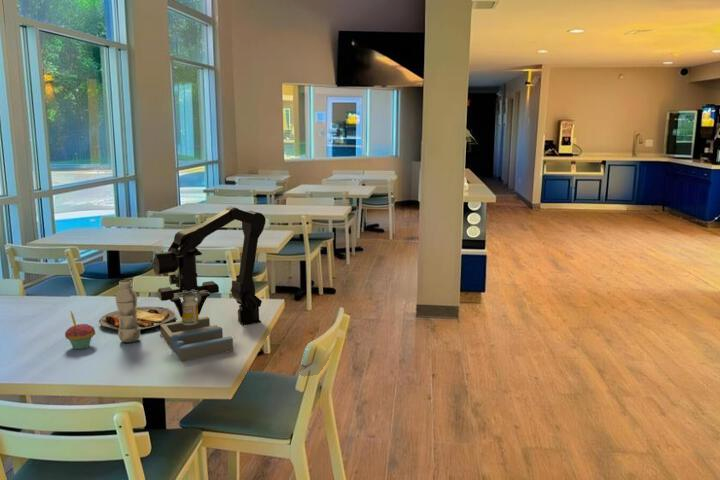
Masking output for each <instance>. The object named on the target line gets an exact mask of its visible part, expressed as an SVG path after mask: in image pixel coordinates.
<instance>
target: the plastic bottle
mask: <svg viewBox="0 0 720 480" xmlns="http://www.w3.org/2000/svg"><path fill="white" fill-rule="evenodd" d="M132 287H133V284H132V280H130V279H124V280H123V279H122V280H120V281H119V282H118V288H119V290H118V291H117V293H116V295H115V298H114V299H115V303H116V308H117V311H118V314H119V330H118V331H117V332H118V333H117V335H118V339H119V340H120V342H122V343H134V342H136V341H138V340H139V339H140V337H141V330H140V328H141V327H140V328H139V326H138V320H137V307H138V305H137V304H138V295H137V293H136V292H135V290H133V288H132Z"/></svg>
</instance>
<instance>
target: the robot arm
mask: <svg viewBox="0 0 720 480" xmlns="http://www.w3.org/2000/svg"><path fill="white" fill-rule="evenodd" d="M235 220H236V221H238V222H241V228H242V232H243V236H244V237H243V243H242V251H241V257H240V258H241V259H240V266H239V272H238V273H239V274H238V276H237V278H236V280H233V279H232V281H231V288H230V290H229V291H230V293H231V296H232V298H233V299H235V301H236V302H237V304H238V310H237V321H238V322H239V323H241V325H243V326H248V325H255V324H259V323H262V321H261V319H260V307H261V306H262V302H263V300H262V299H260V298H259V297H258V296H257V295H256V287H255V282H254V272H255V271H254V270H255V265H256V264H255V263H256V256H257V250H258V241H259V238H260V237H261V234H262V233H263V231H264V229H265V226H266V217H265V215H264V214H263V213H261V212H258V211H253V210H247V211H245V210H242V209H239V208H237V207H234V206H228V207H226V208H225V209H223V210H222V211H221V212H219V213H217V214H215V215H213V216H212V217H210V218H209V219H207V220H204V221H203V222H201V223H200V224H198V225H196V226H192V227H188V228H185V229H181V230H179V231H177V232H176V233H175V235H174V237H173V240H172V243H171V245H170V246H169V247H168V249H167V252H166V251H165V252H155V253H154V257H153V260H152V269H153V271H154V274H155V275H156V276H158V275H165V274H169V275H168V277H169V278H168V279H169V280H168V281H169V285H170V286H172V285H175V287H176V289H175V288H174V289H172V288H171V287H170V286H166V287H160V288H158V290H157V298H158V299H159V300H160V301H161V302H164V301H170V302H171V303H173V304H174V305H175V307H176V310H177V312H178V314H179V317H180V318H182V305H181V303H182V299H181V298H180V296H179V295H184V294H189V293H192V294H195V293H196V296H197V298H196V299H197V300H196V301H197V302H198V316H199V315H200V314H201V311H202V309H203V307H204V304H205V302H206V300H207V298H209V297H210V296H211V294H218V293H219V292H220V287H219V285H218V284H217V283H216V282H215V281H213V280H210V281H204V282H202V285H198V273H197V257H198V256H202V255H203V252H201V251H199V249H198V248H197V247H198V246H199V245H201V244H202V242H203V241H204V240H205V238H207V237H208V236H209V235H212V234H213V233H215V232H217V231H218V230H220V229H222V228H223V227H225V226H226V225H228V224H230V223H232V222H233V221H235ZM176 271H177V274H174V273H176ZM170 273H171V274H170Z"/></svg>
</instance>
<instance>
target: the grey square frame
mask: <svg viewBox="0 0 720 480" xmlns="http://www.w3.org/2000/svg"><path fill="white" fill-rule="evenodd" d="M198 319H199V322H198V323H197V324H195V325H184V324H182V320H180V321H173V322H166V323H163V324H161V325H159V326H160V335H161V337H162V338H163V339H164V341H165V342H166V344H168V346H169V347H170V348H171V350H172V351H173V352H174V353H175V356H177V358H178V359H179V360H180V361H181V362H185V361H189V360H190V361H191V360H194V359H199V358H205V357H210V356H213V355H214V356H215V355H219V354H224V353H229V352H233V351H234V338H233V337H232V335H231V336H225V337H224V335H223V328H222V327H221V326H218V325H217V324H216V325H211V323H210V317H209V316H202V317H198Z"/></svg>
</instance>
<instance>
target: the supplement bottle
mask: <svg viewBox="0 0 720 480" xmlns="http://www.w3.org/2000/svg"><path fill="white" fill-rule="evenodd" d="M196 299H197V298H196V293H187V294H182V300H181V305H182V317H181V321H182V324H184V325H195V324H197V323H198V322H199V319H198V318H199V315H198V302H197V300H196Z"/></svg>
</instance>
